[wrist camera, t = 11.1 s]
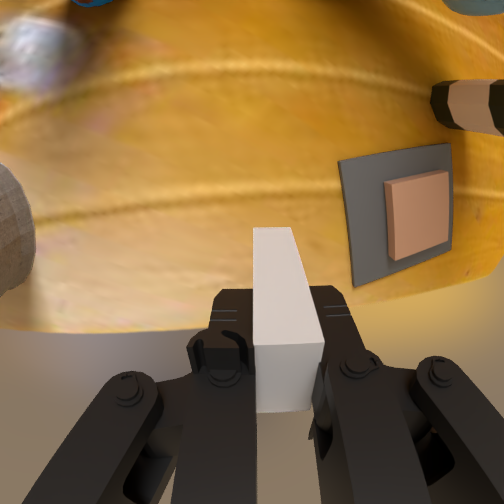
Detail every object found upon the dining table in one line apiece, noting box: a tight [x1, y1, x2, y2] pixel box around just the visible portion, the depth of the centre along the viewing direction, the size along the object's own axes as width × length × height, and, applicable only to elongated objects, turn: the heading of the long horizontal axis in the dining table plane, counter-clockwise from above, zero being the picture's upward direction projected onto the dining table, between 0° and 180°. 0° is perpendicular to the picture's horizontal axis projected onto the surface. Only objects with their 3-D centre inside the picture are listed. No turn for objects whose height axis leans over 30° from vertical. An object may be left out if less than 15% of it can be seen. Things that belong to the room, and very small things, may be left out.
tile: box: [384, 170, 449, 261], centre depth 39 cm, size 2×12×12 cm
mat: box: [338, 143, 453, 287], centre depth 40 cm, size 22×20×1 cm
